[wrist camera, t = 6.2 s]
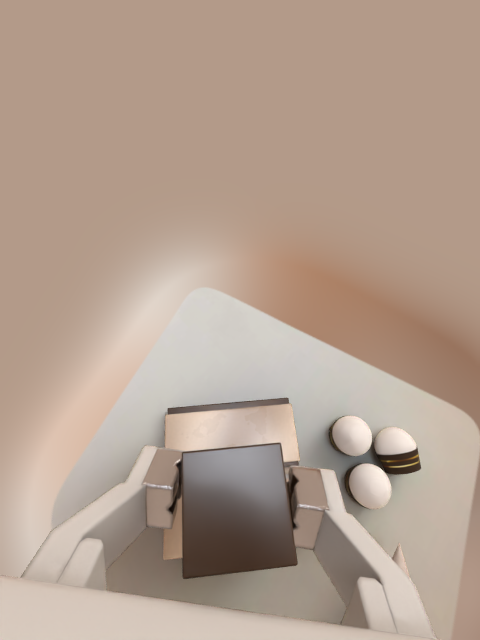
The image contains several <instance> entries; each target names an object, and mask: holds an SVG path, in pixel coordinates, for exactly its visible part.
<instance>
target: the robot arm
mask: <svg viewBox="0 0 480 640" xmlns="http://www.w3.org/2000/svg"><path fill="white" fill-rule="evenodd" d="M182 452H185V451H181V450H175V449H169V448H163V447H154V446H148V445H145V446H144V447H143V448H142V450H141V452H140V454H139V456H138V458H137V460H136V462H135V464H134V466H133V468H132V470H131V472H130V474H129V476H128V478H127V479H126V481H125V483H122V482H120V483H119V484H118V485H116V486H115V487H113V488H112V489H110V490H109V491H107V492H106V493H105V494H103V495H102V496H100V497H99V498H97V499H96V500H95V501H93V502H92V503H90V504H89V505H87V506H86V507H85V508H83V509H82V510H80V511H79V512H77V513H76V514H75V515H73V516H72V517H70V518H69V519H67V520H66V521H65V522H63V523H62V524H60V525H59V526H57V527H56V528H55V529H53V530H52V531H51V532H50V533H49V535H48V537H47V538H46V540H45V541H44V542H43V544H42V545H41V547H40V548H39V550H38V551H37V553H36V555H35V556H34V557H33V559H32V561H31V562H30V564H29V565H28V567H27V568H26V570H25V571H24V573H23V574H22V576H21V577H20V578H18V577H11V576H4V575H0V640H440V639H437V638H436V635H435V633H434V630H433V628H432V626H431V623H430V621H429V618H428V616H427V613H426V611H425V609H424V606H423V604H422V601H421V599H420V596H419V594H418V591H417V589H416V587H415V584H414V582H413V581H412V580H411V579H410V578H409V577H408V576H407V575H406V574H405V573H404V571H403V570H402V569H401V568H400V567H399V566H398V565H397V564H396V563H395V562H394V560H393V559H392V558H391V557H390V556H389V555H388V554H387V553H386V552H385V551H384V549H383V548H382V547H381V546H380V545H379V544H378V543H377V542H376V541H375V540H374V538H373V537H372V536H371V535H370V534H369V533H368V532H367V531H366V530H365V529H364V527H363V526H362V525H361V524H360V523H359V522H358V521H357V520H356V519H355V518H354V516H353V515H352V514H349V513H346V509H345V506H344V502H343V499H342V495H341V492H340V488H339V485H338V481H337V478H336V474H335V472H334V471H333V470H329V469H321V468H319V469H318V468H312V467H304V466H296V465H290V468H289V472H288V475H289V481H288V482H287V489H288V497H289V504H290V511H291V519H292V526H293V533H294V541H295V547H298V548H304V549H310V550H314V551H313V552H314V553H315V555H316V557H317V558H318V560H319V562H320V563H321V565H322V567H323V568H324V570H325V572H326V573H327V575H328V577H329V578H330V580H331V582H332V583H333V585H334V587H335V588H336V590H337V592H338V593H339V595H340V597H341V598H342V600H343V602H344V603H345V605H346V607H347V609H346V612H345V615H344V617H343V620H342V622H341V625H338V624H331V623H324V622H317V621H311V620H304V619H297V618H290V617H283V616H277V615H270V614H263V613H256V612H249V611H242V610H236V609H229V608H222V607H215V606H208V605H201V604H195V603H188V602H181V601H174V600H167V599H161V598H154V597H147V596H140V595H133V594H127V593H120V592H113V591H107V584H106V572H105V571H106V570H107V569H108V568H109V567H110V566H111V565H112V564H113V562H114V561H115V560H116V559H117V558H118V557H119V556H120V555H121V554H122V553H123V552H124V551H125V550H126V549H127V548H128V547H129V546H130V545H131V544H132V543H133V542H134V541H135V539H136V538H137V537H138V536H139V535H140V534H141V533H142V532H143V531H144V530H145V529H146V527H154V528H163V529H172V527H173V523H174V520H175V516H176V513H177V506H178V500H179V499H180V498H181V495H182Z"/></svg>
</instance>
